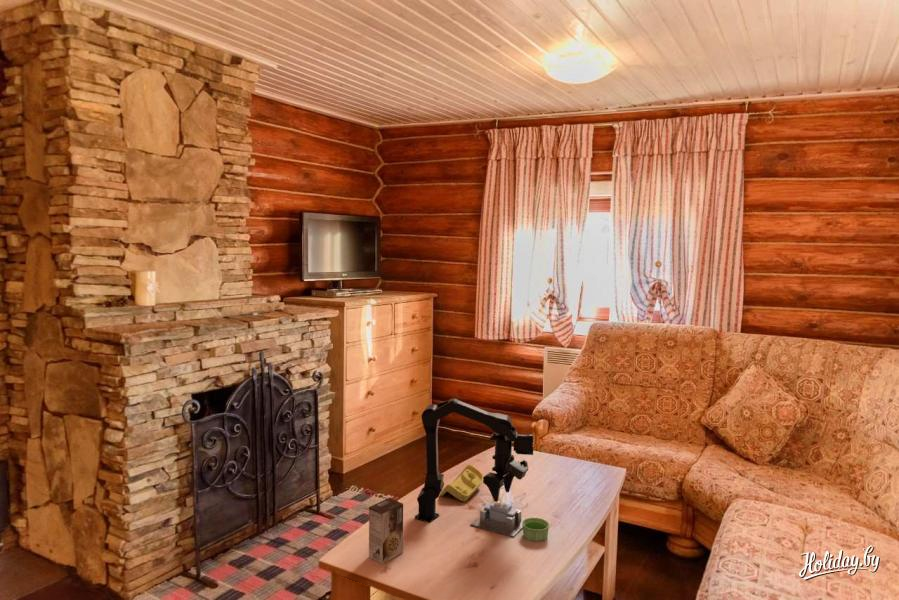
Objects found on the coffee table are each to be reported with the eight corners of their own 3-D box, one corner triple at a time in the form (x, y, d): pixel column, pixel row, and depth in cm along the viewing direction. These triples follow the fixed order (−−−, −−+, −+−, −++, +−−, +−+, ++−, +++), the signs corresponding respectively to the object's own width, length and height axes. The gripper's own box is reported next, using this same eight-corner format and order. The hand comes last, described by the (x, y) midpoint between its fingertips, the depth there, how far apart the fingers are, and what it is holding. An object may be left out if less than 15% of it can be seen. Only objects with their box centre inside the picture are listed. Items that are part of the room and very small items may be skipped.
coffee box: (388, 546, 195) (389, 497, 193) (403, 553, 191) (404, 502, 189) (367, 557, 188) (368, 506, 186) (382, 564, 184) (383, 512, 182)
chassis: (513, 537, 202) (513, 524, 202) (470, 525, 210) (470, 512, 210) (529, 521, 214) (530, 508, 214) (488, 510, 222) (488, 498, 222)
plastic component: (467, 497, 227) (445, 482, 231) (459, 512, 230) (437, 496, 233) (487, 476, 245) (466, 461, 248) (480, 490, 248) (459, 475, 251)
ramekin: (552, 534, 205) (553, 521, 205) (542, 545, 198) (543, 532, 197) (528, 527, 210) (528, 515, 209) (517, 538, 202) (517, 525, 202)
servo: (512, 528, 208) (513, 508, 207) (483, 520, 213) (484, 501, 213) (517, 523, 211) (517, 504, 210) (488, 515, 217) (489, 497, 216)
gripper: (513, 465, 198) (512, 512, 199) (535, 449, 214) (533, 492, 215) (482, 459, 203) (481, 504, 205) (506, 443, 219) (504, 485, 221)
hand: (501, 496), depth 211 cm, fingers open, 9 cm apart
